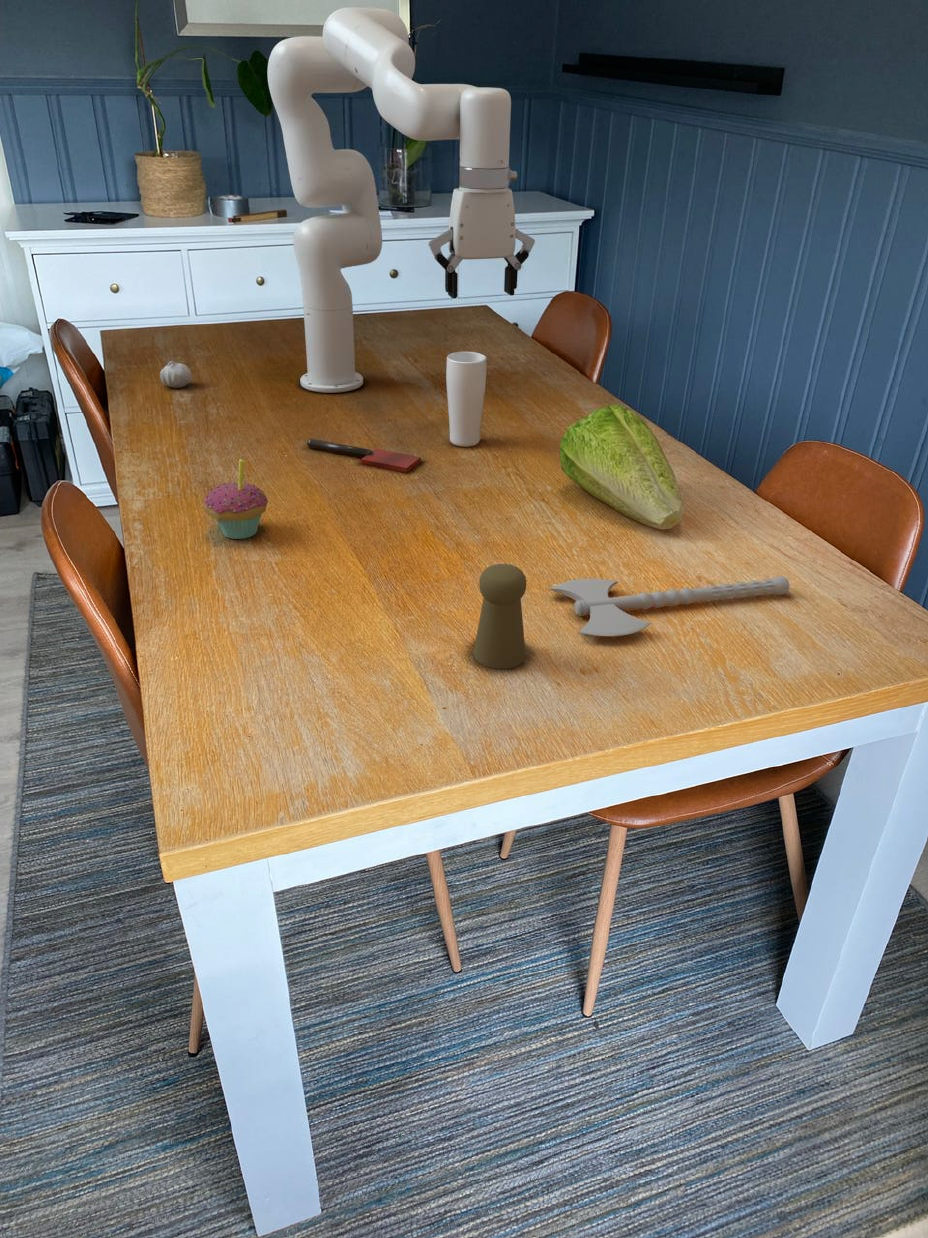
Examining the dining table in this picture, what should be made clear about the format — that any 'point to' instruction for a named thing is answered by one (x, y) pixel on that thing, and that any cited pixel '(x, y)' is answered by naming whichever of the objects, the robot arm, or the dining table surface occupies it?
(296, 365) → the dining table surface
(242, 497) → the cupcake
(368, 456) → the spatula
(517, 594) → the chess pawn
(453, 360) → the drinking glass
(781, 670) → the dining table surface
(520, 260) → the robot arm
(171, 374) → the garlic
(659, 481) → the lettuce
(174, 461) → the dining table surface
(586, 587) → the axe
